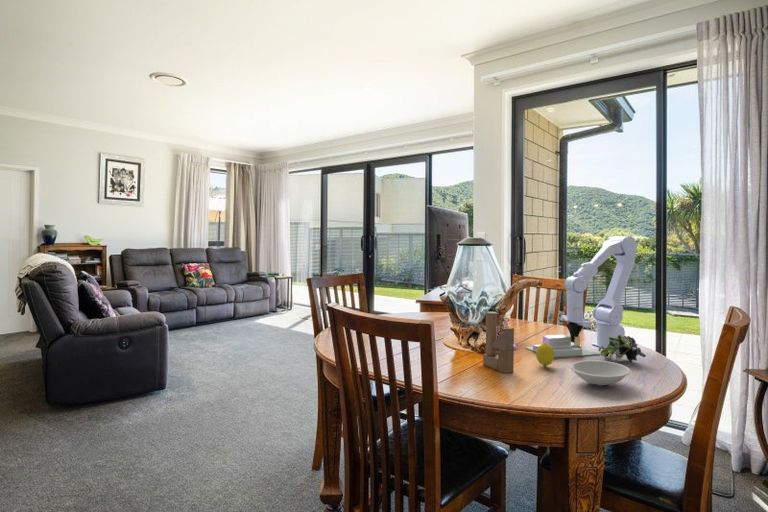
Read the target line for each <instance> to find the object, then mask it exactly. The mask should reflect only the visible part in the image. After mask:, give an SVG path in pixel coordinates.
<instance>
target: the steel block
mask: <svg viewBox="0 0 768 512" xmlns="http://www.w3.org/2000/svg"><path fill="white" fill-rule="evenodd" d="M544 343H547V344H548V345H550V346H551V347H552V349H564V348H571V344H572V342H571V337H570V335H567V334H566V335H565V334H555V335H554V334H552V335H542V344H544Z"/></svg>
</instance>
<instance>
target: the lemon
mask: <svg viewBox="0 0 768 512" xmlns="http://www.w3.org/2000/svg"><path fill="white" fill-rule="evenodd" d="M538 345H539V346H538V348H537V351H536V353H535V355H536V356H535V357H536V360H537V362H538V364H539V365H542V366H543V367H544V366H545V367H544V368H546V367H547V366H549V365H551V364H552V363H553V362H554V359H555V358H554V352H553V349H552V347H551V346H550V345H548V344H547V343H544V344H543V343H542V344H538Z"/></svg>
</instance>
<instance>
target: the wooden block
mask: <svg viewBox="0 0 768 512" xmlns="http://www.w3.org/2000/svg"><path fill="white" fill-rule="evenodd" d="M497 324H498V313H497V312H496V311H486V312H485V328H486V345H485V353H483V354H482V364H483V366H487V367H489V368H491V369H494V370H497V371H498V372H501V373H503V374H510V373H514V367H515V366H514V360H515V359H514V358H515V357H514V351H515V349H514V345H515V328H514V327H513V328H512V327H511V328H505V329H504V330H503V331H502V333H500V334H499V337H498V338H497V328H498V326H497Z"/></svg>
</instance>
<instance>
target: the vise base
mask: <svg viewBox="0 0 768 512" xmlns="http://www.w3.org/2000/svg"><path fill="white" fill-rule="evenodd" d="M571 345H574V343H571ZM524 348H525V349H526V350H529V351H531V352H533V353H535V354H536V351H533V346H524ZM553 352H554V359H560V358H559V357H565V358H573V357H572V356H579V357H586V356H585V355H593V356H601V354H600V353H598V352H595V351H592V350H590V349H587V348H584V347H582V348H564V349H553Z"/></svg>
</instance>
